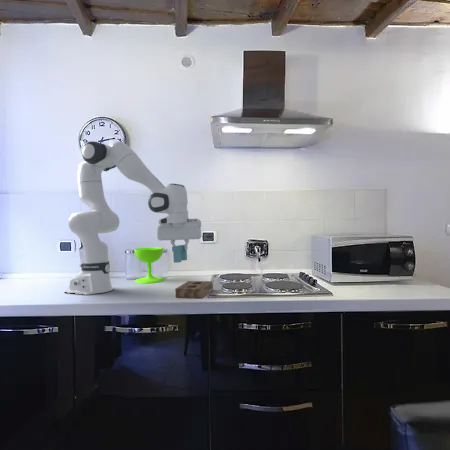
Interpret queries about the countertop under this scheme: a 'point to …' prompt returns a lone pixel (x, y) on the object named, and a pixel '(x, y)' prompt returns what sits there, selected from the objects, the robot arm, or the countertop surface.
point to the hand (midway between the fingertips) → (180, 249)
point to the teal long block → (179, 253)
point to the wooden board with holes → (193, 289)
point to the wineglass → (149, 262)
